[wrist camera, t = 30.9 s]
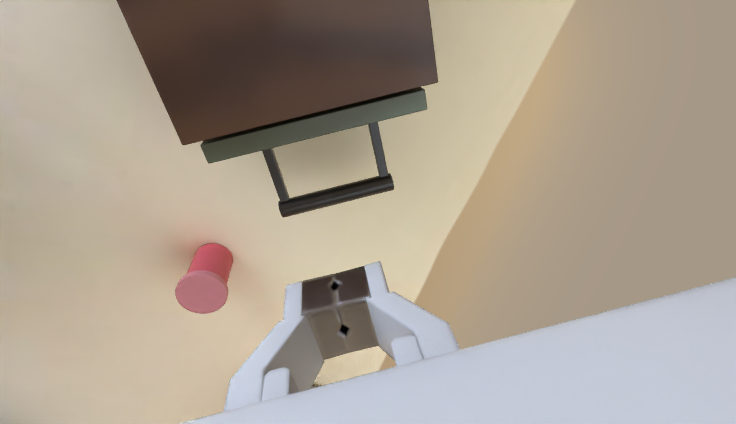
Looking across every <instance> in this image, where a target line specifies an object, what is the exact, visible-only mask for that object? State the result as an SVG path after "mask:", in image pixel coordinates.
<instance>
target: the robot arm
mask: <svg viewBox="0 0 736 424" xmlns="http://www.w3.org/2000/svg"><path fill="white" fill-rule="evenodd" d="M375 346H379V347H380V348H381V349H382V350H383V351H385V352H386V353H387V354H388V355H389V356H390V357H391V358H392V359H393V360H394V361H395V362H396V367H392V368H389V369H385V370H381V371H377V372H373V373H369V374H366V375H362V376H358V377H354V378H350V379H347V380H343V381H339V382H335V383H331V384H328V385H324V386H320V387H316V388H312V389H311V387H312V385H313V383H314V381H315V379H316V377H317V375H318V373H319V371H320V369H321V367H322V365H323V363H324V360H325V359H329V358H332V357H336V356H339V355H343V354H346V353H350V352H353V351H358V350H362V349H366V348H371V347H375ZM179 424H736V277H734V278H731V279H727V280H723V281H719V282H716V283H712V284H708V285H705V286H700V287H697V288H693V289H689V290H686V291H682V292H678V293H674V294H670V295H667V296H663V297H659V298H656V299H651V300H648V301H644V302H640V303H636V304H632V305H629V306H625V307H621V308H617V309H613V310H609V311H605V312H602V313H598V314H594V315H590V316H586V317H583V318H579V319H575V320H571V321H567V322H564V323H560V324H556V325H552V326H548V327H545V328H541V329H537V330H534V331H530V332H525V333H522V334H518V335H514V336H511V337H507V338H503V339H499V340H495V341H492V342H488V343H484V344H480V345H476V346H472V347H468V348H465V349H461V350H460V348H459V346H458V343H457V341H456V339H455V337H454V334H453V332H452V330H451V328H450V325H449V323H447V322H445V321H443V320H442V319H440V318H438V317H437V316H435V315H433V314H432V313H430V312H428V311H426V310H425V309H423V308H421V307H419V306H418V305H416V304H414V303H412V302H411V301H409V300H407V299H406V298H404V297H402V296H400V295H399V294H397V293H395V292H391V293H389V289H388V286H387V282H386V279H385V275H384V272H383V268H382V265H381V262H380V261H378V262H374V263H371V264H368V265H365V267H364V266H362V267H358V268H355V269H351V270H347V271H343V272H340V273H336V274H330V275H326V276H322V277H318V278H313V279H309V280H305V281H301V282H297V283H293V284H289V285H287V286H286V289H285V303H284V316H283V321H279V322H278V323H277V324H276V325H275V327H274V328H273V329H272V330H271V331H270V333H269V334H268V335H267V336H266V337H265V339H264V340H263V341H262V342H261V343H260V345H259V346H258V347H257V348H256V349H255V351H254V352H253V353H252V354H251V355H250V357H249V358H248V359H247V360H246V361H245V363H244V364H243V365H242V366H241V367H240V369H239V370H238V371H237V372H236V373H235V375H234V376H233V377H232V378H231V379H230V383H229V388H228V392H227V397H226V402H225V407H224V412H221V413H217V414H213V415H209V416H205V417H202V418H198V419H194V420H190V421H186V422H183V423H179Z"/></svg>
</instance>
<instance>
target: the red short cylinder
mask: <svg viewBox="0 0 736 424" xmlns="http://www.w3.org/2000/svg"><path fill="white" fill-rule="evenodd" d="M232 263H233V256H232V254H231V252H230V251H229V250H228V249H227V248H226V247H224V246H222V245H220V244H214V243H211V244H206V245H203V246H201V247H200V248H199V249H198V250H197V251H196V253H195V256H194V258H193V260H192V263H191V265H190V267H189V270H188V272H187V274H186V275H184V276H183V277H182V278H181V279H180V280H179V282H178V284H177V287H176V290H175V295H176V298H177V301H178V302H179V303H180V305H181V306H183V307H184V308H185V309H187V310H189V311H191V312H195V313H201V314H205V313H211V312H214V311H217V310H218V309H220V308H221V307H222V306H223V305H224V304H225V302H226V300H227V296H228V287H227V281H228V278H229V274H230V271H231V267H232Z"/></svg>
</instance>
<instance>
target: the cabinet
mask: <svg viewBox="0 0 736 424" xmlns="http://www.w3.org/2000/svg"><path fill="white" fill-rule="evenodd" d="M117 2H118V5H119V7H120V9H121V11H122V13H123V16H124V18H125V20H126V22H127V24H128V27H129V29H130V31H131V33H132V35H133V37H134V40H135V42H136V44H137V46H138V48H139V51H140V53H141V55H142V57H143V59H144V62H145V64H146V66H147V68H148V70H149V73H150V75H151V77H152V79H153V81H154V84H155V86H156V88H157V90H158V92H159V95H160V97H161V99H162V101H163V103H164V106H165V108H166V110H167V112H168V114H169V117H170V119H171V121H172V123H173V125H174V128H175V130H176V132H177V134H178V136H179V138H180V141H181V143H182V145H187V144H191V143H195V142H199V141H203V140H207V139H211V138H215V137H219V136H224V135H228V134H232V133H236V132H240V131H244V130H248V129H252V128H256V127H260V126H264V125H268V124H272V123H276V122H280V121H284V120H288V119H292V118H296V117H300V116H304V115H308V114H312V113H316V112H320V111H324V110H329V109H333V108H337V107H341V106H345V105H349V104H353V103H357V102H361V101H365V100H369V99H373V98H377V97H381V96H385V95H389V94H393V93H397V92H401V91H405V90H409V89H413V88H417V87H421V86H425V85H429V84H434V83H437V82H438V77H437V69H436V61H435V52H434V44H433V36H432V28H431V20H430V11H429V3H428V0H117Z"/></svg>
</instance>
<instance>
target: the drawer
mask: <svg viewBox="0 0 736 424" xmlns="http://www.w3.org/2000/svg"><path fill="white" fill-rule="evenodd" d="M426 109H427V103H426V95H425V90H424V89H423V88H422V87H417V88H413V89H409V90H405V91H401V92H397V93H393V94H389V95H385V96H381V97H377V98H373V99H369V100H365V101H361V102H357V103H353V104H349V105H345V106H341V107H337V108H333V109H329V110H324V111H320V112H316V113H312V114H308V115H304V116H300V117H296V118H292V119H288V120H284V121H280V122H276V123H272V124H268V125H264V126H260V127H256V128H252V129H248V130H244V131H240V132H236V133H232V134H228V135H224V136H219V137H215V138H211V139H207V140H204V141H203V142H202V144H201V148H202V150H203V153H204V155H205V157H206V159H207V162H208V163H209V164H210V163H214V162H218V161H222V160H226V159H230V158H234V157H238V156H242V155H246V154H250V153H254V152H258V151H263V154H264V157H265V160H266V163H267V165H268V168H269V171H270V174H271V177H272V179H273V182H274V185H275V188H276V191H277V193H278V196H279V199H280V201H279V210H280V213H281V215H282V217H288V216H292V215H296V214H300V213H304V212H308V211H312V210H316V209H320V208H324V207H328V206H332V205H336V204H339V203H343V202H347V201H351V200H355V199H359V198H363V197H367V196H371V195H375V194H379V193H383V192H387V191H391V190H394V184H393V180H392V176H391V174H390V173H388V171H387V166H386V161H385V156H384V151H383V147H382V142H381V137H380V132H379V127H378V121H382V120H386V119H390V118H394V117H398V116H402V115H406V114H410V113H414V112H418V111H422V110H426ZM366 124H368V127H369V132H370V136H371V141H372V146H373V150H374V155H375V159H376V164H377V169H378V173H379V176H376V177H372V178H368V179H364V180H360V181H356V182H352V183H348V184H344V185H341V186H337V187H333V188H329V189H325V190H321V191H317V192H313V193H309V194H305V195H301V196H297V197H293V198H289V195H288V192H287V189H286V186H285V183H284V180H283V177H282V174H281V171H280V168H279V165H278V162H277V160H276V157H275V154H274V151H273V148H274V147H278V146H282V145H286V144H290V143H294V142H298V141H302V140H306V139H310V138H314V137H318V136H322V135H326V134H330V133H334V132H338V131H342V130H346V129H350V128H354V127H358V126H362V125H366Z"/></svg>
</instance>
